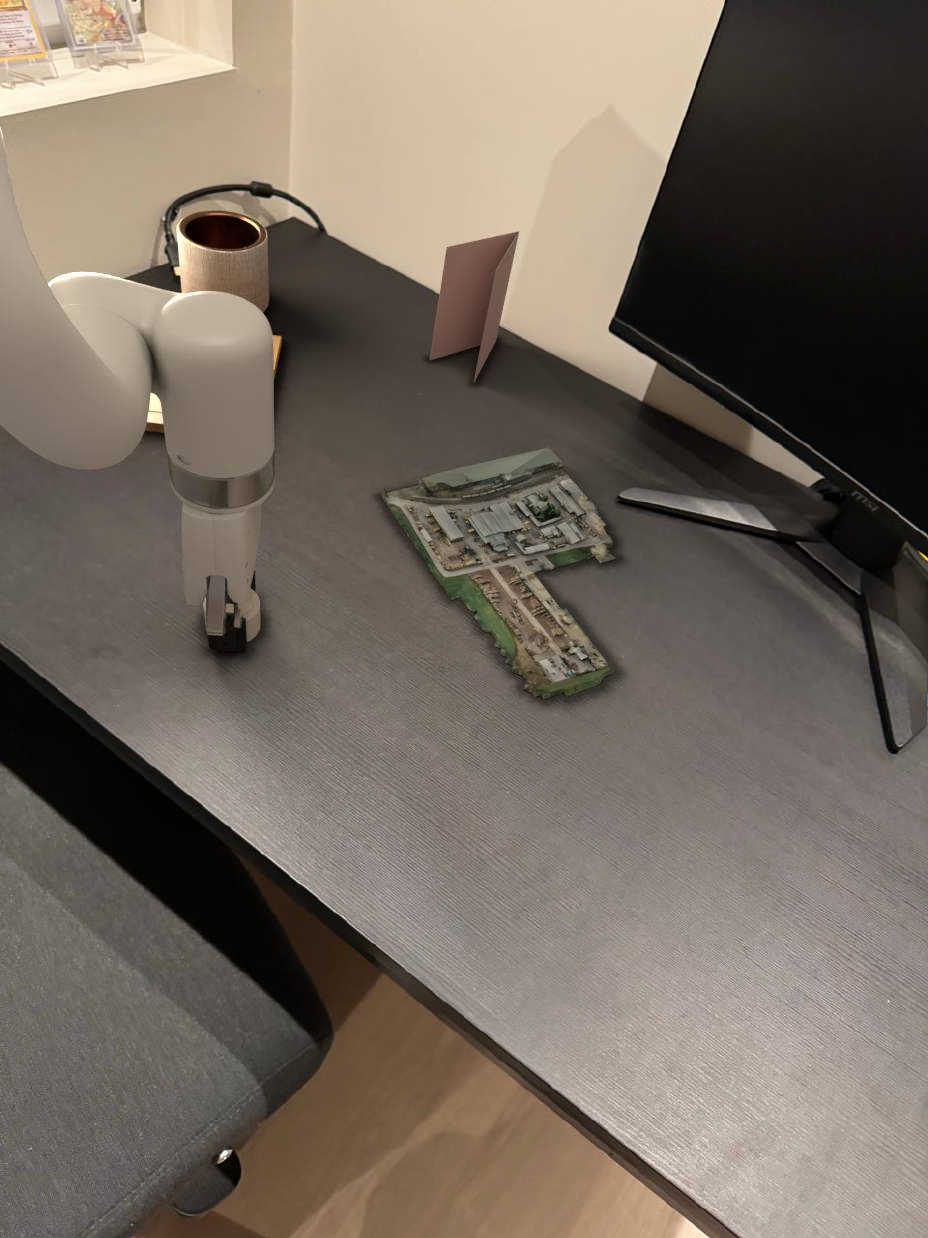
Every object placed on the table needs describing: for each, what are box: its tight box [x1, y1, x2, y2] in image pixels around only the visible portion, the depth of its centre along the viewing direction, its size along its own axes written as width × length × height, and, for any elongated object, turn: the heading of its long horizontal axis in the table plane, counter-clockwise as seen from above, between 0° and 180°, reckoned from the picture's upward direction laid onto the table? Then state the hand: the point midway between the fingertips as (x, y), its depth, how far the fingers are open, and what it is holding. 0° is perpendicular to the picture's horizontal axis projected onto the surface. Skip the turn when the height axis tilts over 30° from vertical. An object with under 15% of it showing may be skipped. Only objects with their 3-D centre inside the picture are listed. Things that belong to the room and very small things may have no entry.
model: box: [381, 446, 617, 701], centre depth 86 cm, size 21×30×2 cm
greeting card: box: [429, 230, 520, 383], centre depth 105 cm, size 11×7×15 cm, turn 129°
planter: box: [176, 209, 270, 314], centre depth 106 cm, size 11×11×10 cm
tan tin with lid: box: [202, 588, 262, 643], centre depth 74 cm, size 5×5×4 cm
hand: (233, 622), depth 76 cm, fingers closed on tan tin with lid, 4 cm apart
